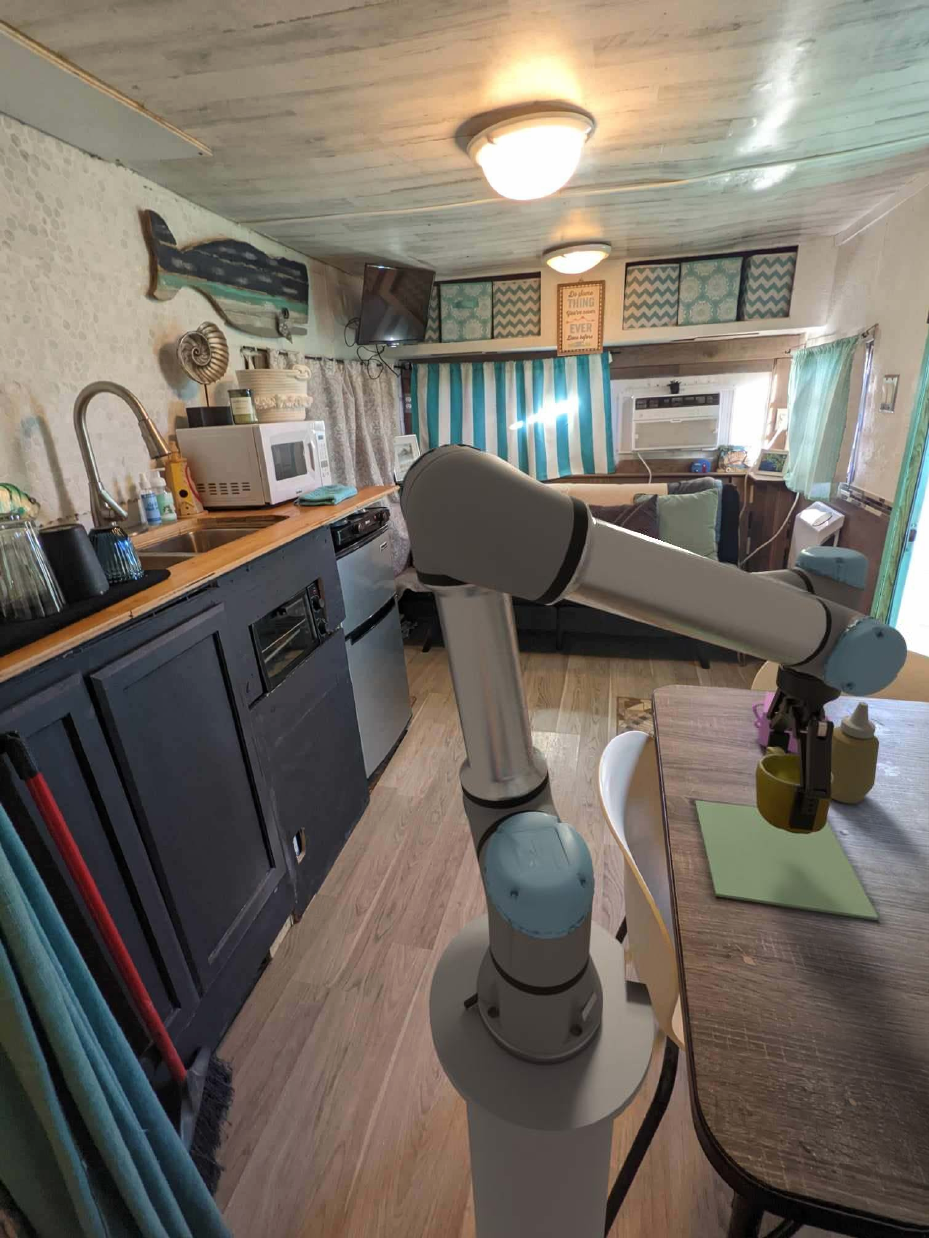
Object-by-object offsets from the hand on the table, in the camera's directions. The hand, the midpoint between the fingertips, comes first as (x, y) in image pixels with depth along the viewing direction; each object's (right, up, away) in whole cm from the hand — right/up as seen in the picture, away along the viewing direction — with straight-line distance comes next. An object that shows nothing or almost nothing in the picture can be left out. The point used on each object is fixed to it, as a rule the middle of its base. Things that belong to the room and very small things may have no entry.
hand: (785, 795), depth 80 cm
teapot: (+18, +1, +30) cm, 35 cm away
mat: (0, -10, +4) cm, 11 cm away
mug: (0, -2, +1) cm, 2 cm away
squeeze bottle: (+19, -5, +16) cm, 25 cm away
